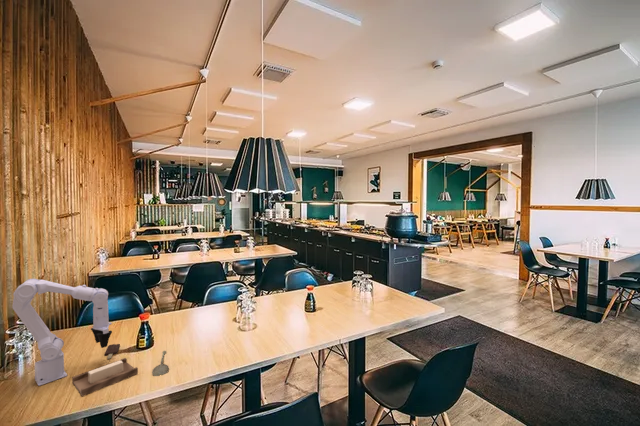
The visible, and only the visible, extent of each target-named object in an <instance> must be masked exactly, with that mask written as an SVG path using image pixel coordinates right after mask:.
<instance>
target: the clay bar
mask: <svg viewBox="0 0 640 426" xmlns="http://www.w3.org/2000/svg"><path fill="white" fill-rule="evenodd" d="M116 361H117V362H116ZM116 361H113V362H114V363H113V362H110V363H111V364H110V363H108V365H107V364H105V365H106V366H105V365H102V366H103V367H102V366H99V367H100V368H99V367H97V369H96V368H94V370H93V369H91V370H92V371H91V370H88V371H89V372H88V371H87V372H88V381H89V382H90V384H91V383H94V382H96V381H99V380H102V379H104V378H107V377H109V376H112V375H115V374H117V373H120V372H122V371H123V362H122V361H121V359H120V361H119V360H116Z"/></svg>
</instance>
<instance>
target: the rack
mask: <svg viewBox="0 0 640 426" xmlns="http://www.w3.org/2000/svg"><path fill="white" fill-rule="evenodd" d="M120 360H121V361H122V362H123V371H122V372H120V373H117V374H115V375H112V376H109V377H107V378H104V379H102V380H99V381H96V382H94V383H91V384H90V382H89V381H88V372H89V371H92V370H94V369H97V368H100V367H103V366H106V365H108V364H111V363H114V362H117V361H120ZM120 360H116V361H113V362H110V363H108V364H105V365H102V366H99V367H97V368H94V369H91V370H87V371H85V372H83V373H80V374H77V375H75V376H72V379H71V380H72V381H71V382H72V385H73V386H74V388H75V389H76V390H77V391H78V393H79V394H80V396H81V397H84V396H88V395H89V394H92V393H94V392H97V391H99V390H101V389H104V388H106V387H109V386H111V385H114V384H117V383H119V382H122V381H123V380H126V379H128V378H131V377H134V376H136V375H138V374H139V368H138V366H136V367H133V366H132V365H131V364H130V363H129V362H128V358H126V357H125V358H122V359H120Z"/></svg>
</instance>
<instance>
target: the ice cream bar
mask: <svg viewBox="0 0 640 426" xmlns="http://www.w3.org/2000/svg"><path fill="white" fill-rule="evenodd" d="M120 347H121V344H120V343H113V344H109V345H107V347H106V349H105V352H104V353H103V354H104V355H103V356H104V357H106V358H107V360H111V359H112V358H113V355H117V354H118V353H119V349H120Z"/></svg>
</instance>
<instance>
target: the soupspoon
mask: <svg viewBox="0 0 640 426" xmlns="http://www.w3.org/2000/svg"><path fill="white" fill-rule="evenodd" d="M165 354H167V350H163V351H162V356H161V360H160V364H158V365H156V366H155V367H153V369H152V370H151V371H152V372H151V373H152V374H151V375H152V376H153V377H160V375H161V376H164V375H166V374H168V372H169V369H170V368H169V365H167V364H165V363H164V357H165Z"/></svg>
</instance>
